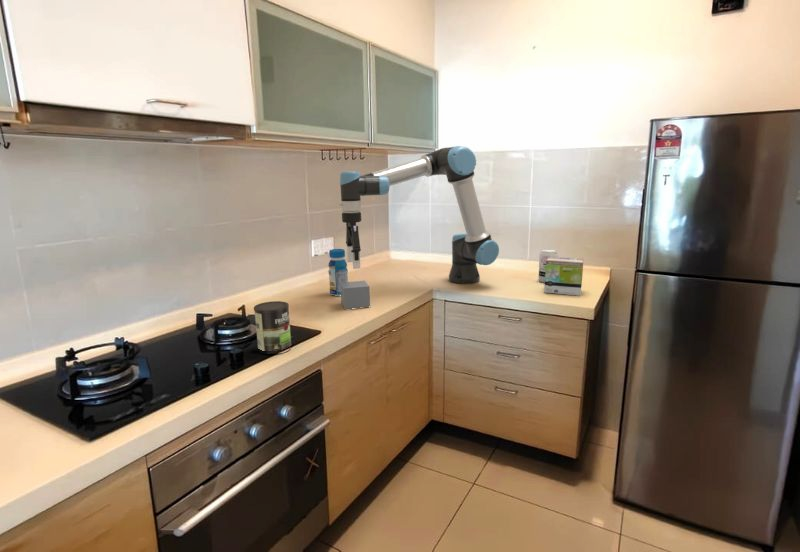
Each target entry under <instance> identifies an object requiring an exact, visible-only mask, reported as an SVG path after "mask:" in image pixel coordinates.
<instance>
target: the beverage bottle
mask: <svg viewBox="0 0 800 552" xmlns="http://www.w3.org/2000/svg"><path fill="white" fill-rule="evenodd" d="M345 256H346V251H345V249H343V248H333V249H330V250H329V258H330V260H329V262H328V265H327V266H328V280H329V294H330V295H331V296H332V295H335V296H334V297H341V296H340V295H341V287H340V283H342V282H349V281H348V278H349V277H348V273H349V272H348V271H349V270H348V267H347V266H348V262H347V261H346V259H345Z"/></svg>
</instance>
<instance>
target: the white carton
mask: <svg viewBox="0 0 800 552" xmlns="http://www.w3.org/2000/svg"><path fill="white" fill-rule="evenodd" d="M548 256H549V257H559V253H558V250H556V249H551V248H550V249H549V248H548V249H545V248H544V249H541V250H540V252H539V262H538V278H537V279H538V281H539V282H540V283H543V284H545V271H546V261H547V258H548Z"/></svg>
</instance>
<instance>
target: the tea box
mask: <svg viewBox="0 0 800 552" xmlns="http://www.w3.org/2000/svg"><path fill="white" fill-rule="evenodd" d="M583 271H584V258H579V257H564V256H560V257H559V256H558V257H549V256H548V258H547V261H546V271H545V283H544V285H543V287H544V289H543V291H544V294H559V295H570V296H579V297H580V296H581V293H582V286H583V285H582V284H583Z"/></svg>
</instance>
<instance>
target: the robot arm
mask: <svg viewBox="0 0 800 552" xmlns="http://www.w3.org/2000/svg"><path fill="white" fill-rule="evenodd" d="M476 166H477V159H476V155H475V153H474V152H473V151H472V149H471V148H469V147H467V146H462V145H461V146H460V145H457V146H451V147H442V148H439V149H437V150H435V151H432V152H429V153H427V154H423V155H421V156H420V158H417V159H415V160H411V161H408V162H404V163H400V164H397V165H394V166H389V167H386V168H384V169H381V170H377V171H373V172H370V173H367V174H366V173H365V174H363V175H360V172H359V170H358V171H357V170H356V171H353V170H351V171H341V173H339V174H340V177H339V186H340V187H339V188H340V198H341V199H340V200H341V203H340V204H339V206H340V207H341V212H342V213H341V221H342V223H346V228H345V229H346V233H345V234H346V235H345V244H346V255H347V263H352V269H353V270H356V269H357V270H358V269H361V250H362V249H361V243H360V233H359V225H357V223H360V222H361V221H362V213H361V211H362V202H361V201H362V200H361V197H364V196H365V197H366V196H383V195H384V196H385V195H387V194H389V192H390V187H391V186H394V185H398V184H401V183H404V182H408V181H411V180H415V179H417V178H420V177H424V176H425V177H428V178H429V177H432V176H440V175H441V176H443V175H445V176H446V179H447V183H448V184H451V185H452V187H453V191H454V193H455V197H456V201H457V205H458V208H459V212H460V215H461V219H462V222H463V226H464V230H465V233H459V234H458V233H456V234H453V235H452V240H451V253H452V254H451V255H452V256H451V261H452V262H451V263H452V265H451V267H450V271H449V274H448V281H449V282H450V281H451V282H450V283H453V282H455V283H454V284H460V283H469V284H475V283H479V282H480V281H481V280H480V279H481V276H480V273H479V272H480V271H479V269H478V265H479V266H489V265H492V264H493V263H494V262H495V261H496V260H497V259H498V257H499V253H500V248H499V244H498V242H496V241H495V240H493V239H492V234H491V232H490V231H489V230H487V229H486V226H485V223H484V220H483V215H482V212H481V208H480V203H479V199H478V197H477V192H476V189H475V185H474V182H473V178H474V176H475V171H474V170H475V169H476ZM477 264H478V265H477Z"/></svg>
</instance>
